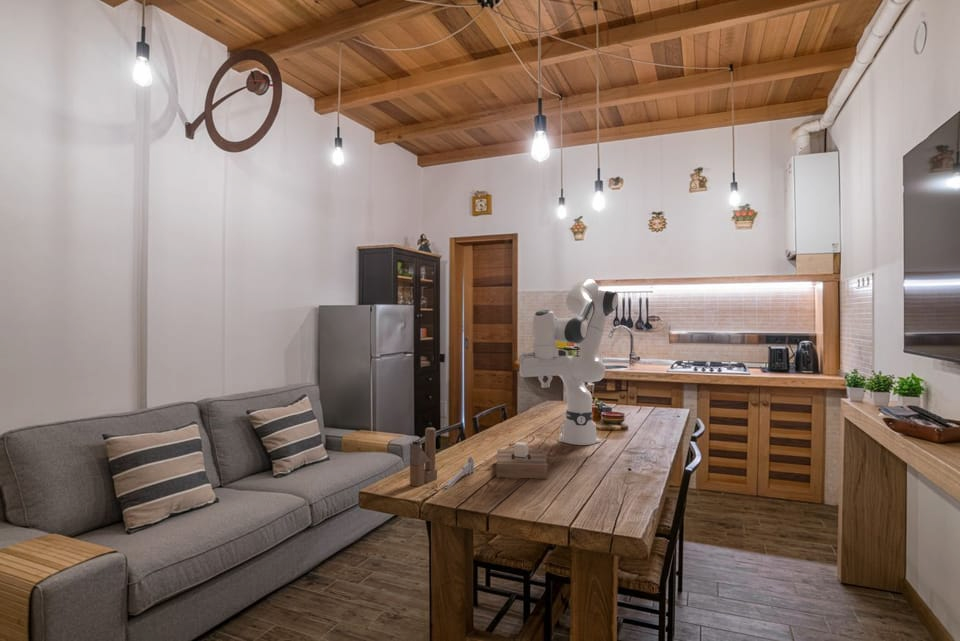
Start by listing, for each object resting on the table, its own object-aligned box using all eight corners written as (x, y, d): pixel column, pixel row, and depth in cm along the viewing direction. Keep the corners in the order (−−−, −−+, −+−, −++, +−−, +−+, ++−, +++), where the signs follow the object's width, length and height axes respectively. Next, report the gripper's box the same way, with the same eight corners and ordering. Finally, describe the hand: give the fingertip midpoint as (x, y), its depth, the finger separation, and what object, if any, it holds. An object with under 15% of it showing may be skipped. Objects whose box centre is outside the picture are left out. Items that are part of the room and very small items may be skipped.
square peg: (518, 467, 193) (518, 441, 193) (528, 469, 192) (528, 442, 191) (514, 470, 190) (514, 444, 189) (524, 472, 188) (524, 445, 188)
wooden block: (409, 485, 173) (409, 432, 173) (429, 477, 182) (429, 426, 182) (418, 487, 171) (418, 433, 171) (437, 478, 180) (437, 427, 180)
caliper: (471, 473, 188) (471, 456, 188) (473, 473, 187) (473, 456, 187) (444, 490, 169) (444, 471, 169) (446, 490, 169) (446, 471, 169)
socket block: (497, 461, 201) (497, 449, 201) (543, 462, 200) (543, 450, 200) (496, 478, 181) (496, 463, 181) (547, 479, 180) (547, 464, 180)
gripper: (521, 354, 193) (522, 390, 194) (572, 351, 197) (572, 387, 198) (516, 352, 200) (517, 387, 200) (566, 350, 204) (566, 384, 204)
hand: (545, 387), depth 199 cm, fingers closed
